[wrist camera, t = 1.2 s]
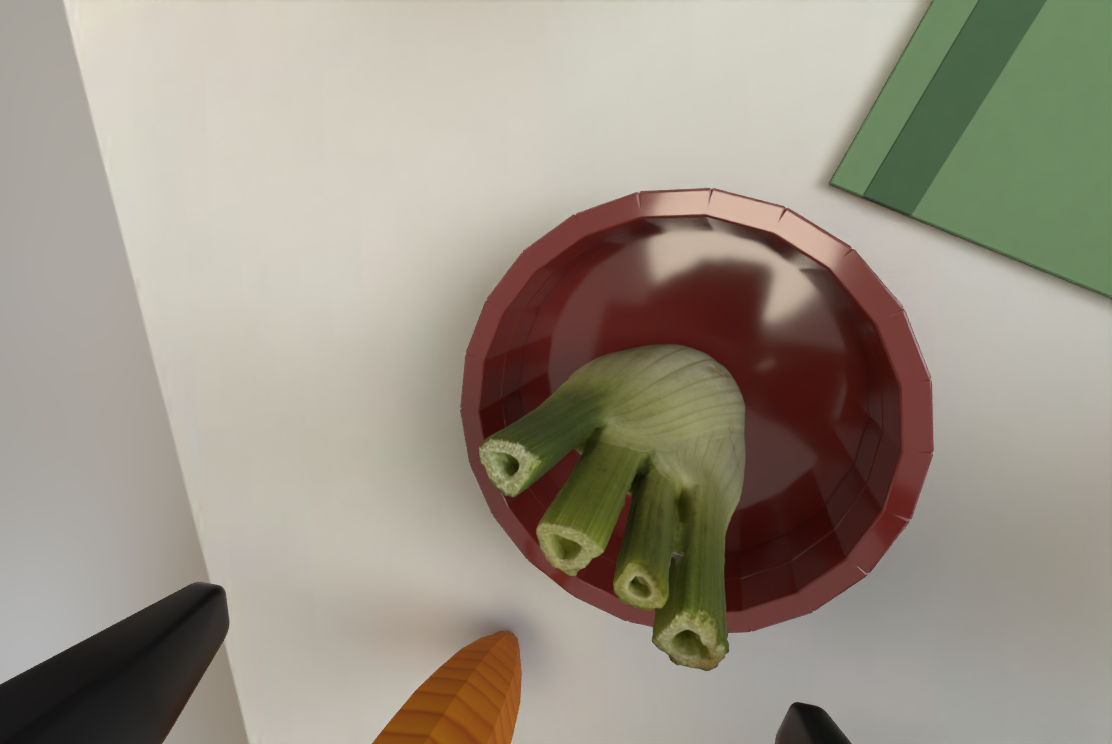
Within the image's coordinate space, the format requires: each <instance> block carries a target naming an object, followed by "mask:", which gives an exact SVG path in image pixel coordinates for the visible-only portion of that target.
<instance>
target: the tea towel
mask: <svg viewBox="0 0 1112 744" xmlns="http://www.w3.org/2000/svg"><path fill="white" fill-rule="evenodd" d="M829 184H830V185H832V186H835V187H837V188H840V189H842V190H845V191H847V192H850V193H852V194H855V195H857V196H860V197H862V198H864V199H867V200H869V201H872V202H874V203H877V204H879V205H882V206H884V207H887V208H889V209H892V210H894V211H897V212H899V213H902V214H904V215H906V216H909V217H911V218H914V219H916V220H919V221H921V222H924V223H926V224H929V225H931V226H934V227H936V228H939V229H941V230H943V231H946V232H948V233H951V234H953V235H956V236H958V237H961V238H963V239H966V240H968V241H971V242H973V243H976V244H978V245H981V246H983V247H985V248H988V249H990V250H993V251H995V252H998V253H1000V254H1003V255H1005V256H1008V257H1010V258H1013V259H1015V260H1018V261H1020V262H1022V263H1025V264H1027V265H1030V266H1032V267H1035V268H1037V269H1040V270H1042V271H1045V272H1047V273H1050V274H1052V275H1055V276H1057V277H1060V278H1062V279H1064V280H1067V281H1069V282H1072V283H1074V284H1077V285H1079V286H1082V287H1084V288H1087V289H1089V290H1092V291H1094V292H1097V293H1099V294H1101V295H1104V296H1106V297H1109V298H1111V299H1112V0H933V1H932V3H931V5H930V6H929V8H928V10H927V12H926V13H925V15H924V17H923V19H922V20H921V22H920V24H919V26H918V28H917V29H916V31H915V33H914V35H913V36H912V38H911V40H910V42H909V43H908V45H907V47H906V49H905V50H904V52H903V54H902V56H901V57H900V59H899V61H898V63H897V65H896V66H895V68H894V70H893V72H892V73H891V75H890V77H889V79H888V80H887V82H886V84H885V86H884V87H883V89H882V91H881V93H880V95H879V96H878V98H877V100H876V102H875V103H874V105H873V107H872V109H871V110H870V112H869V114H868V116H867V117H866V119H865V121H864V123H863V124H862V126H861V128H860V130H859V132H858V133H857V135H856V137H855V139H854V140H853V142H852V144H851V146H850V147H849V149H848V151H847V153H846V154H845V156H844V158H843V160H842V162H841V163H840V165H839V167H838V169H837V170H836V172H835V174H834V176H833V177H832V179H831V181H830V183H829Z"/></svg>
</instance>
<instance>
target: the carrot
mask: <svg viewBox="0 0 1112 744" xmlns="http://www.w3.org/2000/svg"><path fill="white" fill-rule="evenodd" d="M521 674H522V673H521V662H520V650H519V644H518V639H517V637H516V636H515V635H514V634H513V633H511V632H505V631H500V632H497V633H494V634H491V635H489V636H486V637H483V638H480V639H478V640H477V641H475V642H473V643H471V644H469V645H468V646H466V647H464V648H462V649H461V650H460V651H458V652H457V653H456V654H455V655H454V656H453V657H451V658H450V659H449V660H448V661H447V662H446V663H444V664H443V665H442V666H441V667H440V668H439V669H438V670H437V671H436V672H435V673H433V674H432V675H431V676H430V677H429V678H428V679H427V680H426V681H425V682H424V683H423V684H422V685H421V686H420V687H419V688H418V689H417V690H416V691H415V692H414V693H413V694H412V695H411V697H410V698H409V699H408V700H407V701H406V703H405V704H404V705H403V706H402V707H401V709H400V710H399V711H398V712H397V713H396V715H395V716H394V717H393V718H392V719H391V721H390V722H389V723H388V724H387V725H386V727H385V728H384V729H383V730H382V732H381V733H380V734H379V735H378V737H377V738H376V739H375V740H374V742H373V743H372V744H511V740H512V736H513V732H514V728H515V723H516V718H517V714H518V709H519V705H520V695H521Z"/></svg>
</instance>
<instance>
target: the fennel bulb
mask: <svg viewBox="0 0 1112 744" xmlns="http://www.w3.org/2000/svg"><path fill="white" fill-rule="evenodd" d="M744 428H745V404H744V400H743V396H742V394H741V392H740V389H739V387H738V385H737V383H736V382H735V380H734V379H733V377H732V376H731V374H730V373H729V371H728V370H727V369H726V368H725V367H724V366H723V365H721V364H720V363H718V362H717V361H716V360H715V359H713V358H712V357H710V356H709V355H708V354H706V353H704V352H701V351H699V350H696V349H694V348H691V347H687V346H684V345H678V344H656V345H647V346H641V347H636V348H631V349H627V350H622V351H618V352H613V353H609V354H606V355H604V356H601V357H599V358H596V359H594V360H592V361H590V362H589V363H587V364H585V365H583V366H582V367H581V368H579V369H578V370H576V371H575V372H574V373H573V374H572V375H571V376H569V379H568V380H567V381H566V382H565V383H563V384H562V385H561V386H560V387H559V389H558V390H557V391H556V392H554V393H553V394H552V395H551V396H550V397H549V398H547V399H546V400H545V401H544V402H543V403H542V404H541V405H540V406H539V407H537V408H536V409H535V410H533V411H531V412H529V413H528V414H527V415H525V416H523V417H522V418H521V419H519V420H518V421H516V422H514V423H513V424H511V425H510V426H508V427H506V428H504V429H502V430H500V431H498V432H496V433H495V434H492V435H491V436H489V437H488V438H486V439H485V440H484V441H483V442H482V443H481V444H480V446H479V457H480V461H481V463H482V464H483V465H484V467H485V468H486V472H487V474H488V477H489V481H490V482H491V483H492V484H493V486H494V487H495V488H496V489H498V490H499V491H500V492H501V493H503V494H504V495H505V496H511V497H515V496H516V495H518V494H519V493H521V492H522V491H523V490H525V489H527V488H528V487H529V486H530V485H532V484H533V483H534V482H535V481H537V480H538V479H539V478H540V477H541V476H543V475H544V474H545V473H546V472H547V471H548V470H550V469H551V468H552V467H553V466H554V465H555V464H556V463H558V462H559V461H560V460H561V459H562V458H564V457H565V455H567V454H568V453H569V452H570V451H571V450H572V449H576V450H577V451H578V452H579V453H580V454H581V456H580V457H579V460H578V462H577V464H576V466H575V468H574V470H573V471H572V473H571V475H570V476H569V478H568V479H567V481H566V482H565V483H564V485H563V486H562V487H561V490H560V491H559V492H558V494H557V495H556V496H555V499H554V501H553V502H552V503H551V505H550V506H549V507H548V508H547V511H546V512H545V514H544V516H543V517H542V519H541V520H540V522H539V524H538V526H537V528H536V534H537V537H538V540H539V544H540V548H541V550H542V552H543V554H544V556H545V557H546V560H547V561H549V563H550V564H551V566H553V567H554V568H559V569H560V570H562V571H563V572H565V573H566V574H567V575H569V576H576V575H577V572H578V571H579V570H580V569H583V568H585V567H586V566H587V565H588V564H589V563H590V561H591V560H592V558H595V557H598V556H599V555H600V554H602V553H604V550H605V548H606V546H607V544H608V541H609V539H610V537H611V534H612V532H613V529H614V527H615V525H616V522H617V520H618V517H619V514H620V512H621V510H622V508H623V507H624V505H625V496H626V494H629V495H631V505H630V507H629V512H628V516H627V524H626V527H625V532H624V536H623V541H622V547H621V549H620V552H619V554H618V557H617V562H616V563H617V565H616V571H615V575H614V580H613V585H614V590H613V591H614V593H615V594H616V595H617V597H618V598H619V600H620V601H621V602H623V603H624V604H627V605H630V606H632V607H633V608H637V609H643V610H650V611H651V610H653V609H655V608H656V609H655V619H654V625H653V636H652V642H653V643H654V644H655V645H656V647H657V648H659V649H660V650H662V651H664V652H665V653H666V654H668V655H669V658H670V660H671V661H672V662H674V663H675V664H676V665H682V666H687V667H691V668H698V669H702V670H704V671H709V670H711V669H714V668H716V667H717V666H718V664H719V662H720V661H722V660H723V659H724V658H725V655H726V654H727V653H728V652H729V643H728V640H727V637H728V633H727V627H726V624H727V623H726V601H725V588H724V563H725V557H724V553H725V534H726V531H727V527H728V524H729V522H730V519H731V516H732V514H733V512H734V510H735V508H736V506H737V504H738V503H739V500H740V496H741V492H742V486H743V481H744V469H745V458H746V453H745V439H744Z"/></svg>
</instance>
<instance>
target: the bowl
mask: <svg viewBox="0 0 1112 744" xmlns="http://www.w3.org/2000/svg"><path fill="white" fill-rule="evenodd" d="M656 344H678V345H684V346H687V347H691V348H694V349H696V350H699V351H701V352H704V353H706V354H708V355H709V356H710V357H712V358H713V359H715V360H716V361H717V362H718V363H720V364H721V365H723V366H724V367H725V368H726V369H727V370H728V371H729V373H730V374H731V376H732V377H733V379H734V380H735V382H736V383H737V385H738V387H739V389H740V392H741V394H742V396H743V400H744V404H745V428H744V439H745V453H746V458H745V469H744V481H743V486H742V492H741V496H740V500H739V503H738V504H737V506H736V508H735V510H734V512H733V514H732V516H731V519H730V522H729V524H728V527H727V531H726V534H725V553H724V557H725V563H724V588H725V601H726V623H727V624H726V627H727V633H739V632H750V631H756V630H759V629H762V628H765V627H768V626H771V625H775V624H778V623H781V622H784V621H787V620H790V619H794V618H797V617H800V616H803V615H806V614H810V613H812V612H813V611H815V610H817V609H818V608H820V607H821V606H823V605H824V604H826V603H827V602H829V601H830V600H832V599H833V598H835V597H836V596H838V595H839V594H841V593H842V592H844V591H845V590H847V589H848V588H850V587H851V586H852V585H854V584H855V583H857V582H858V581H860V580H861V579H863V578H864V577H866V576H867V573H870V572H871V571H872V569H873V568H874V567H875V566H876V564H877V563H878V562H879V560H880V559H881V558H882V557H883V555H884V554H885V553H886V551H887V550H888V549H889V548H890V546H891V545H892V544H893V542H894V541H895V540H896V539H897V537H898V536H899V535H900V533H901V532H902V531H903V530H904V528H905V527H906V526H907V524H908V523H909V519H911V518H912V516H913V513H914V510H915V507H916V504H917V501H918V498H919V495H920V492H921V489H922V486H923V483H924V480H925V477H926V474H927V471H928V468H929V465H930V462H931V459H932V456H933V453H932V452H933V451H934V443H933V404H932V381H931V380H930V379H931V376H930V373H929V371H928V368H927V365H926V363H925V360H924V358H923V355H922V353H921V350H920V347H919V345H918V342H917V340H916V337H915V335H914V332H913V330H912V327H911V324H910V322H909V319H908V317H907V314H906V312H905V310H904V309H903V306H902V305H901V304H900V302H899V301H898V300H897V299H896V298H895V296H894V295H893V294H892V293H891V292H890V291H889V289H888V288H887V287H886V286H885V285H884V283H883V282H882V281H881V280H880V279H879V278H878V276H877V275H876V274H875V273H874V272H873V271H872V269H871V268H870V267H869V266H868V265H867V263H866V262H865V261H864V260H863V259H862V258H861V256H860V255H859V254H858V253H857V252H856V250H854V249H852V248H851V246H849V245H848V244H846V243H844V242H843V241H841V240H839V239H838V238H836V237H835V236H833V235H831V234H830V233H828V232H826V231H825V230H823V229H822V228H820V227H818V226H817V225H815V224H814V223H812V222H810V221H809V220H807V219H805V218H804V217H802V216H801V215H799V214H797V213H796V212H794V211H792V210H791V209H789V208H786V209H785V207H784V206H781V205H778V204H774V203H770V202H766V201H762V200H758V199H754V198H750V197H746V196H742V195H738V194H734V193H730V192H727V191H723V190H719V189H715V188H714V189H712V190H711V189H710V188H699V189H677V190H655V191H641V192H640V193H638V192H636V193H633V194H630V195H627V196H624V197H621V198H618V199H616V200H613V201H610V202H607V203H604V204H601V205H599V206H596V207H593V208H590V209H587V210H584V211H581V212H579V213H577V214H576V215H572V216H571V217H569V218H568V219H566V220H565V221H564V222H562V223H561V224H560V225H558V226H557V227H555V228H554V229H553V230H551V231H550V232H549V233H547V234H546V235H544V236H543V237H542V238H540V239H539V240H538V241H536V242H535V243H534V244H532V245H531V246H529V247H528V248H527V249H525V250H524V251H523V253H521V254H520V256H519V257H518V258H517V260H516V261H515V262H514V264H513V265H512V266H511V268H510V269H509V270H508V271H507V273H506V274H505V275H504V277H503V278H502V279H501V281H500V282H499V283H498V285H497V286H496V287H495V289H494V290H493V291H492V292H491V294H490V295H489V296H488V298H487V301H486V302H485V304H484V307H483V309H482V312H481V314H480V317H479V320H478V322H477V325H476V327H475V330H474V333H473V335H472V338H471V340H470V343H469V346H468V348H467V351H466V353H467V354H466V355H465V364H464V375H463V386H462V397H461V410H460V412H461V418H462V423H463V429H464V435H465V441H466V447H467V452H468V458H469V463H471V464H470V466H471V468H472V471H473V473H474V475H475V477H476V479H477V482H478V484H479V486H480V488H481V491H482V493H483V495H484V497H485V499H486V502H487V504H488V506H489V508H490V511H491V513H492V514H493V516H494V518H495V519H496V520H497V522H498V523H499V524H500V525H501V527H502V528H503V529H504V530H505V532H506V533H507V534H508V536H509V537H510V538H511V539H512V541H513V542H514V543H515V545H516V546H517V547H518V548H519V550H520V551H521V552H522V554H523V555H524V556H525V557H526V559H528V560H529V561H530V562H531V563H532V564H533V565H535V566H536V567H537V568H538V569H540V570H541V571H542V572H543V573H545V574H546V575H547V576H548V577H550V578H551V579H552V580H553V581H555V582H556V583H557V584H558V585H560V586H561V587H562V588H563V589H565V590H566V591H567V592H568V593H570V594H571V595H573V596H574V597H576V598H578V599H580V600H582V601H584V602H586V603H588V604H590V605H593V606H595V607H597V608H599V609H601V610H603V611H605V612H607V613H609V614H612V615H614V616H616V617H618V618H620V619H622V620H624V621H627V620H628V621H629V622H632V623H637V624H642V625H646V626H651V627H653V625H654V619H655V609H656V608H655V609H653V610H651V611H650V610H643V609H637V608H633V607H632V606H630V605H627V604H624V603H623V602H621V601H620V600H619V598H618V597H617V595H616V594H615V593H614V591H613V590H614V585H613V580H614V575H615V571H616V565H617V563H616V562H617V557H618V554H619V552H620V549H621V547H622V541H623V536H624V532H625V527H626V524H627V516H628V512H629V507H630V505H631V495H629V494H626V496H625V505H624V507H623V508H622V510H621V512H620V514H619V517H618V520H617V522H616V525H615V527H614V529H613V532H612V534H611V537H610V539H609V541H608V544H607V546H606V548H605V550H604V553H602V554H600V555H599V556H598V557H595V558H592V560H591V561H590V563H589V564H588V565H587V566H586V567H585V568H583V569H580V570H579V571H578V572H577V575H576V576H569V575H567V574H566V573H565V572H563V571H562V570H560V569H559V568H554V567H553V566H551V564H550V563H549V561H547V560H546V557H545V556H544V554H543V552H542V550H541V548H540V544H539V540H538V537H537V534H536V528H537V526H538V524H539V522H540V520H541V519H542V517H543V516H544V514H545V512H546V511H547V508H548V507H549V506H550V505H551V503H552V502H553V501H554V499H555V496H556V495H557V494H558V492H559V491H560V490H561V487H562V486H563V485H564V483H565V482H566V481H567V479H568V478H569V476H570V475H571V473H572V471H573V470H574V468H575V466H576V464H577V462H578V460H579V457H580V456H581V454H580V453H579V452H578V451H577V450H576V449H572V450H571V451H570V452H569V453H568V454H567V455H565V457H564V458H562V459H561V460H560V461H559V462H558V463H556V464H555V465H554V466H553V467H552V468H551V469H550V470H548V471H547V472H546V473H545V474H544V475H543V476H541V477H540V478H539V479H538V480H537V481H535V482H534V483H533V484H532V485H530V486H529V487H528V488H527V489H525V490H523V491H522V492H521V493H519V494H518V495H516V496H515V497H511V496H505V495H504V494H503V493H501V492H500V491H499V490H498V489H496V488H495V487H494V486H493V484H492V483H491V482H490V481H489V477H488V474H487V472H486V468H485V467H484V465H483V464H482V463H481V461H480V457H479V446H480V444H481V443H482V442H483V441H484V440H485V439H486V438H488V437H489V436H491V435H492V434H495V433H496V432H498V431H500V430H502V429H504V428H506V427H508V426H510V425H511V424H513V423H514V422H516V421H518V420H519V419H521V418H522V417H523V416H525V415H527V414H528V413H529V412H531V411H533V410H535V409H536V408H537V407H539V406H540V405H541V404H542V403H543V402H544V401H545V400H546V399H547V398H549V397H550V396H551V395H552V394H553V393H554V392H556V391H557V390H558V389H559V387H560V386H561V385H562V384H563V383H565V382H566V381H567V380H568V379H569V376H571V375H572V374H573V373H574V372H575V371H576V370H578V369H579V368H581V367H582V366H583V365H585V364H587V363H589V362H590V361H592V360H594V359H596V358H599V357H601V356H604V355H606V354H609V353H613V352H618V351H622V350H627V349H631V348H636V347H641V346H647V345H656Z"/></svg>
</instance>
